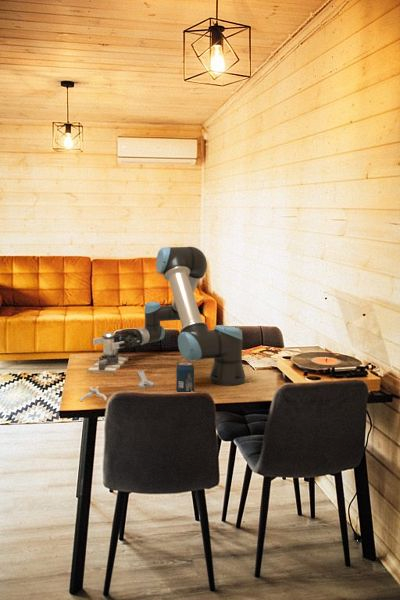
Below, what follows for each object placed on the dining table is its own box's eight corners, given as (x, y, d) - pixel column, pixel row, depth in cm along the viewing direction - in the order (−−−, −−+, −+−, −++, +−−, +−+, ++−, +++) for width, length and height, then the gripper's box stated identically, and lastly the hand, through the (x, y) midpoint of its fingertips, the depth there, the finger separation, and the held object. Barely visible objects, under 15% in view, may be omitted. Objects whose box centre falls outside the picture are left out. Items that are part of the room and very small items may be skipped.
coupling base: (113, 373, 252) (113, 361, 251) (87, 372, 254) (87, 360, 253) (128, 358, 278) (128, 348, 277) (104, 357, 279) (104, 347, 278)
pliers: (79, 398, 214) (81, 386, 229) (79, 402, 214) (81, 390, 229) (106, 397, 216) (106, 385, 230) (106, 401, 216) (106, 389, 231)
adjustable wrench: (136, 373, 255) (136, 369, 255) (151, 373, 256) (151, 369, 256) (138, 390, 231) (138, 385, 230) (154, 389, 231) (154, 385, 231)
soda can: (181, 389, 231) (182, 360, 229) (197, 392, 227) (197, 362, 226) (172, 394, 225) (173, 364, 223) (188, 396, 221) (188, 366, 220)
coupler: (112, 364, 263) (112, 334, 260) (101, 364, 263) (101, 334, 261) (116, 361, 268) (115, 332, 265) (105, 361, 268) (104, 332, 266)
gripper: (155, 348, 270) (121, 356, 254) (120, 340, 286) (86, 347, 270) (155, 333, 269) (121, 340, 253) (120, 325, 285) (85, 332, 269)
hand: (103, 344), depth 262 cm, fingers open, 13 cm apart
